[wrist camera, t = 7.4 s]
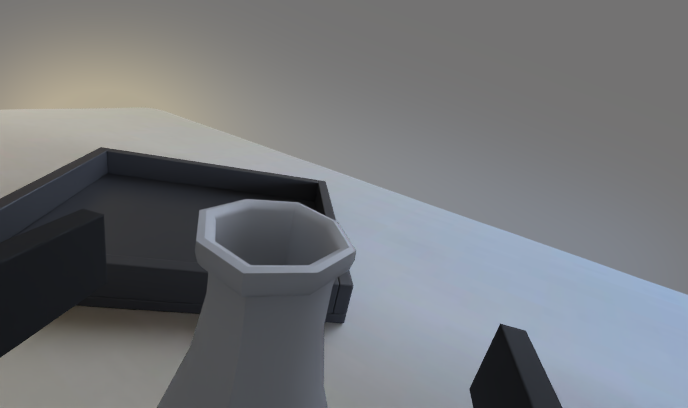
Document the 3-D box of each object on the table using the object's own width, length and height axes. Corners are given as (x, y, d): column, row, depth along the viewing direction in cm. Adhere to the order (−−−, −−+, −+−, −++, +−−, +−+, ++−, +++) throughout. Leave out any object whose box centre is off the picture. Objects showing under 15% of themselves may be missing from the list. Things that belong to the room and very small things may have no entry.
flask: (107, 850, 6) (44, 527, 2) (81, 464, 11) (48, 170, 8) (394, 560, 11) (524, 292, 7) (283, 378, 16) (324, 167, 12)
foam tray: (320, 205, 35) (325, 181, 34) (344, 323, 20) (354, 285, 19) (102, 175, 31) (100, 147, 30) (-79, 295, 16) (-94, 245, 15)
